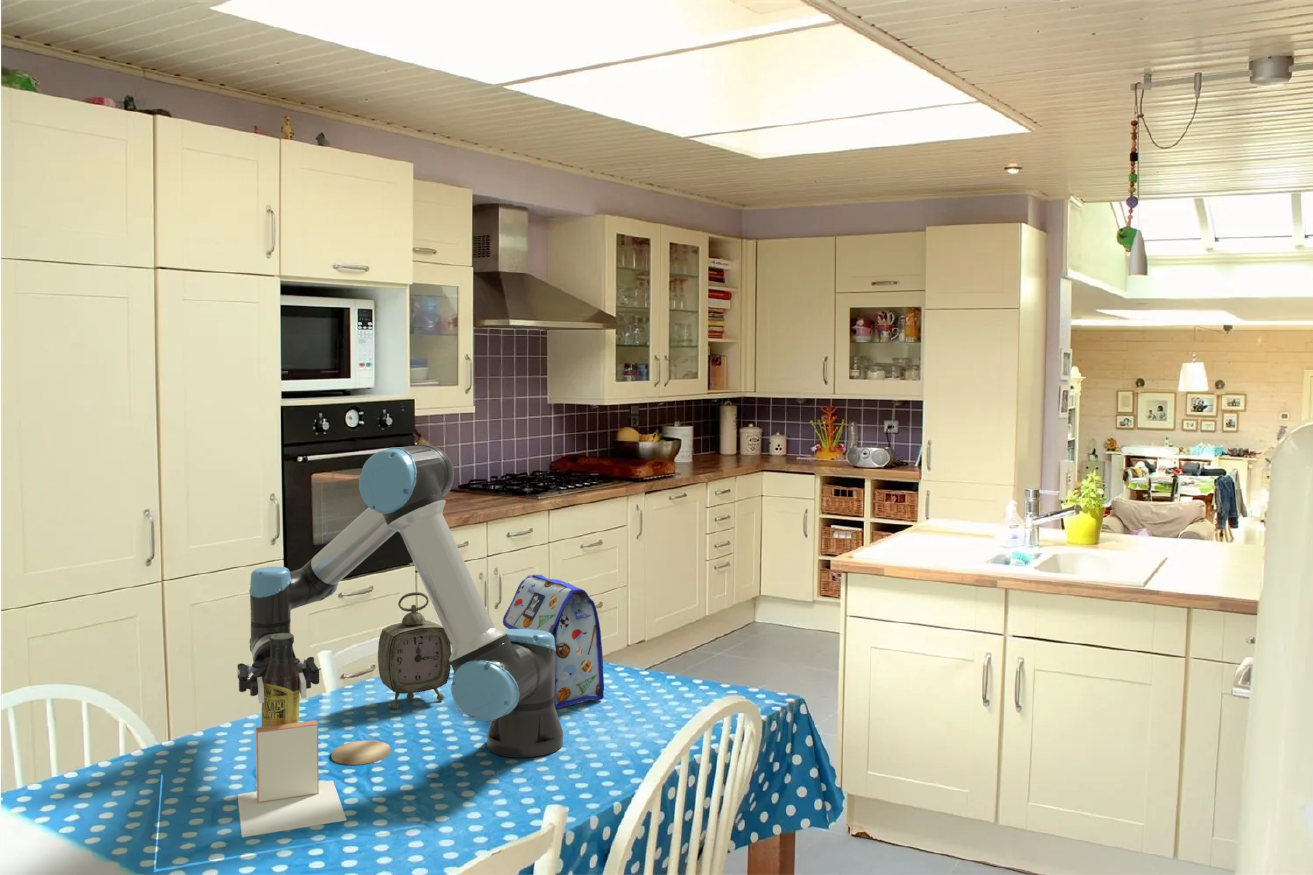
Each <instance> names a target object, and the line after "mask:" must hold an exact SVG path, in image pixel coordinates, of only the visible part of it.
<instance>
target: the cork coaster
mask: <svg viewBox="0 0 1313 875" xmlns="http://www.w3.org/2000/svg"><path fill="white" fill-rule="evenodd" d="M391 749H392V748H391V746H390V745H389V744H388V743H386V742H383V741H379V740H358V741H357V740H356V741H351V742H347V743H343V744H341V745H339V746H337V747H335V748H334V749H333V750H331V760H332V761H334V762H335V763H338V764H342V765H348V766H349V765H352V766H353V765H354V766H355V765H357V766H358V765H368V764H374V763H376V762H379V761H382V760H385V759H386V758H388V757H389V756H390V754H391V751H392V750H391Z"/></svg>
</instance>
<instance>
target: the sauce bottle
mask: <svg viewBox="0 0 1313 875" xmlns="http://www.w3.org/2000/svg"><path fill="white" fill-rule="evenodd" d="M294 637H295V635H294V634H292V633H291V634H289V633H278V634H274V635H271V636H270V638H269V639H270V640H269V644H270V661H269V664H268V667H267V670H266V674H265V677H264V680H263V686H264V703H261V727H265V726H273V725H281V724H290V723H298V722H300V695H301V694H300V691H299V670H298V669H297V667H296V666H295V664H294V661H293V654H292V653H293V650H294V648H293V646H294V644H295V643H294V642H295V638H294Z"/></svg>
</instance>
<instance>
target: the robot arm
mask: <svg viewBox="0 0 1313 875" xmlns="http://www.w3.org/2000/svg"><path fill="white" fill-rule="evenodd" d="M454 477H455V469H454V465H453V463H452V461H451V459H450V458H449V456H448V455H447V454H446V453H445V451H444V450H442V449H441V448H438V447H437V446H434V445H429V444H416V445H411V446H403V447H402V446H400V447H398V446H397V447H396V446H395V447H394V446H393V447H389V448H387V449H384V450H380V451H377V452H376V453H374V454H372V455H370V457H369V458H367V460H366V461H365V463H364V464H363V466H362V469H361V472H360V474H359V480H358V490H359V493H360V496H361V499H362V500H363V502H364V504H365V505H366V506H367V508H366V509H365V510H364V511H363V512H361V513H360V514H359V515H358V516H357V517H356V518H355V519H354V520H353V521H351V522H350V523H349V524H348V525H347V526H346V527H345V528H344V529H343V530H342V531H340V533H338V534H337V535H336V536H335V537H334V538H333V539H332V540H331V541H330V542H328V543H327V544H326V545H325V546H324V547H323V548H322V549H320V551H319V552H317V553H316V554H315V555H314V556H313V557H312V558H311V559H309V561H308V562H306V564H305V565H303V566H302V567H300V568H299V569H296V570H292V571H290V570H289V568H287V567H285V566H277V565H276V566H266V567H259V568H256V569H255V570H253V571H252V572H251V573H250V583H249V584H250V587H249V598H250V599H249V602H250V604H249V605H250V606H249V607H250V638H249V650H250V652H251V655H252V661H253V662H252V664H251V665H249V664H245V663H238V664H237V679H238V691H239V692H240V693H245V692H247V690H249V692H250V693H249V694H250V697H256V696H257V699H258V704H262V703H264V686H263V680H264V677H265V674H266V670H267V667H268V664H269V661H270V644H269V640H270V639H269V638H270V636H271V635H274V634H278V633H289V634H292V633H291V628H292V627H291V621H292V620H291V613H292V612H291V610H294V609H297V608H299V607H302V606H306V605H307V606H308V605H310V604H313V603H315V602H316V603H317V602H321V601H323V600H326V598H328V597H331V596H332V595H333V594H334V593H335V592H336V590H337V589H338V585H339V583H340V582H341V581H342V580H343V579H344V578H345V577H346V576H348V575H349V574H350V573H351V572H352V571H353V570H355V569H356V568H357V567H358V566H359V565H360V564H361V563H363V562H364V561H365V560H366V559H367V558H368V557H370V555H372V554H373V553H374V552H375V551H376V550H377V549H379V548H380V547H381V546H382V545H383V544H384V543H385V542H387V541H388V540H389V538H391V537H392V536H393V535H394V534H396V533H397V532H398V533H400V536H401V538H402V540H403V543H404V544H405V547H406V549H407V551H408V553H409V555H410V557H411V558H410V559H411V560H412V562H413V564H414V566H415V567H414V568H415V569H416V572H417V573H418V575H419V577H420V580H421V581H422V584H423V586H424V589H425V591H426V592H427V594H428V598H429V599H430V601H431V604H432V605H433V608H434V610H435V613H436V614H437V616H438V618H439V621H440V624H441V625H442V627H443V628H444V630H445V632H446V634H447V637H448V639H449V641H450V644H451V656H450V658H449V661H450V664H451V668H452V670H453V676H452V682H451V685H450V690H451V692H450V693H451V695H452V699H453V701H454V703H455V705H456V706H457V708H458V709H459V710H460V711H461V712H462V713H463V714H464V715H466V716H468V717H469V718H472V719H475V720H477V721H479V722H480V721H481V722H490V725H489V728H488V731H487V733H486V734H487V735H486V748H487V749H488V750H489V751H490V752H492V753H494V754H496V755H498V756H502V757H509V758H535V757H541V756H546V755H549V754H551V753H554V752H556V751H558V750H560V749H561V748H562V747H563V745H564V731H563V730H564V729H563V728H562V724H561V722H560V719H559V718H560V717H559V715H558V711H557V708H556V707H555V651H556V648H555V641H554V636H553V635H552V634H551V633H549V632H547V631H542V630H534V629H508V628H507V629H499V628H497V627H496V626H495V625H494V622H493V620H492V618H491V615H490V614H489V612H488V610H487V608H486V606H485V603H484V601H483V599H482V597H481V595H480V593H479V590H478V588H477V586H476V583H475V582H474V579H473V577H472V575H471V573H470V571H469V569H468V567H467V564H466V561H465V560H464V558H463V556H462V553H461V551H460V549H459V546H458V545H457V542H456V540H455V538H454V536H453V534H452V532H451V529H450V526H449V524H448V523H447V521H446V518H445V516H444V512H443V510H444V508H445V506H446V503H447V501H446V499H445V496H447V494H448V493H449V492H450V490H451V488H452V487H453V484H454V480H455V478H454ZM292 654H293V661H294V664H295V666H296V667H297V669H298V670H299V691H300V694H299V695H300V697H301V699H307V690H308V689H311V688H312V685H318V684H320V669H319V667H318V666H317V665H316V663H315V657H313V656H309V657H307V658H306V659H303V660H300V658H298V657H296V654H295V650H294V649H293V653H292ZM454 673H455V674H454ZM251 674H252V675H251ZM250 675H251V676H250Z"/></svg>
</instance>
